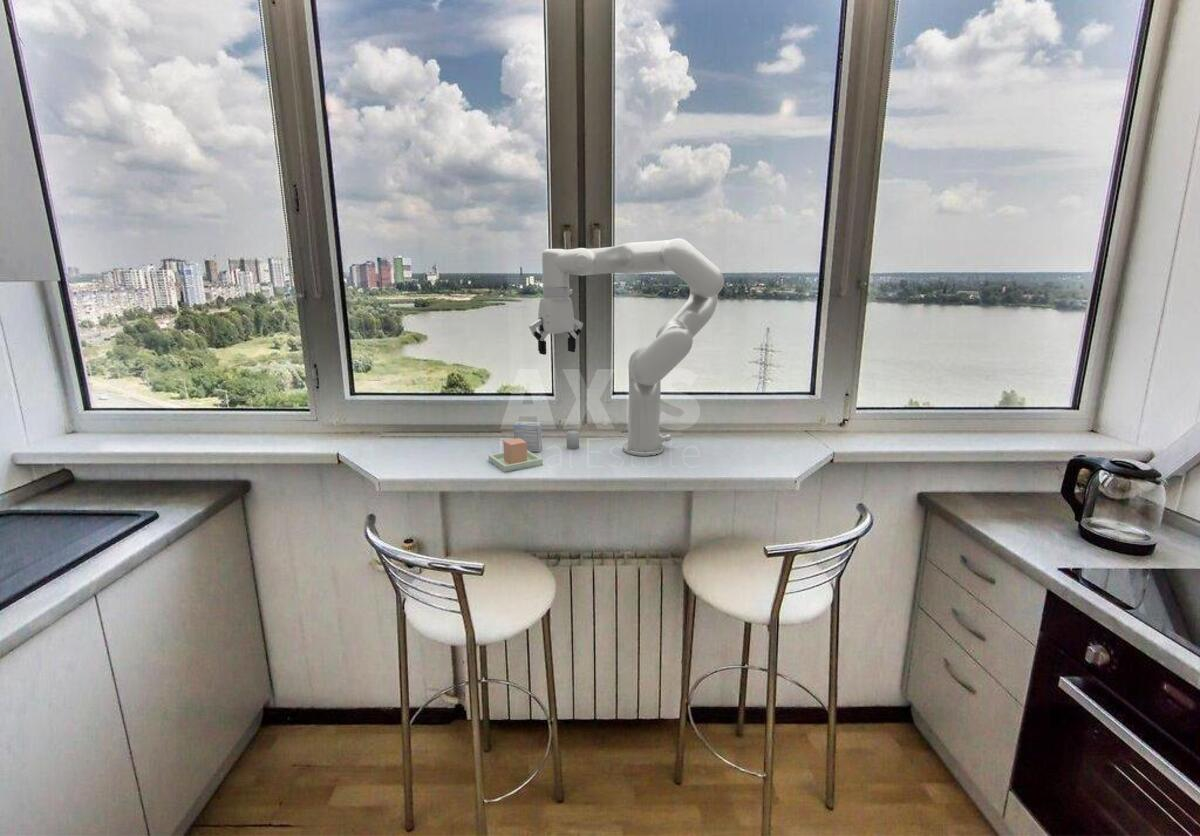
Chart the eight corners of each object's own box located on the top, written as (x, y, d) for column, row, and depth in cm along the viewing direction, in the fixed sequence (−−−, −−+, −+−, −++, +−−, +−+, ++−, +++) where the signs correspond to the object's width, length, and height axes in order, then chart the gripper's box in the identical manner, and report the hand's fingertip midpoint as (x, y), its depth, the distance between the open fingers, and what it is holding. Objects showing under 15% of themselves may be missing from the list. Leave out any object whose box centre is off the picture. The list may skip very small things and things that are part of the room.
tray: (524, 454, 170) (524, 448, 170) (542, 465, 161) (542, 459, 160) (488, 461, 164) (488, 455, 163) (505, 472, 154) (504, 466, 154)
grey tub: (575, 444, 180) (575, 429, 178) (581, 448, 176) (581, 432, 175) (564, 446, 177) (564, 431, 176) (570, 450, 174) (570, 434, 173)
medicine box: (542, 448, 176) (541, 421, 174) (539, 453, 172) (538, 425, 169) (517, 447, 177) (516, 421, 174) (514, 452, 172) (513, 424, 170)
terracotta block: (519, 457, 165) (519, 438, 164) (527, 462, 161) (526, 442, 160) (504, 460, 163) (503, 440, 161) (511, 465, 159) (510, 445, 157)
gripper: (575, 292, 170) (575, 349, 174) (523, 293, 161) (525, 353, 165) (588, 293, 164) (588, 352, 168) (535, 294, 155) (536, 356, 159)
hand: (557, 352), depth 166 cm, fingers open, 9 cm apart
